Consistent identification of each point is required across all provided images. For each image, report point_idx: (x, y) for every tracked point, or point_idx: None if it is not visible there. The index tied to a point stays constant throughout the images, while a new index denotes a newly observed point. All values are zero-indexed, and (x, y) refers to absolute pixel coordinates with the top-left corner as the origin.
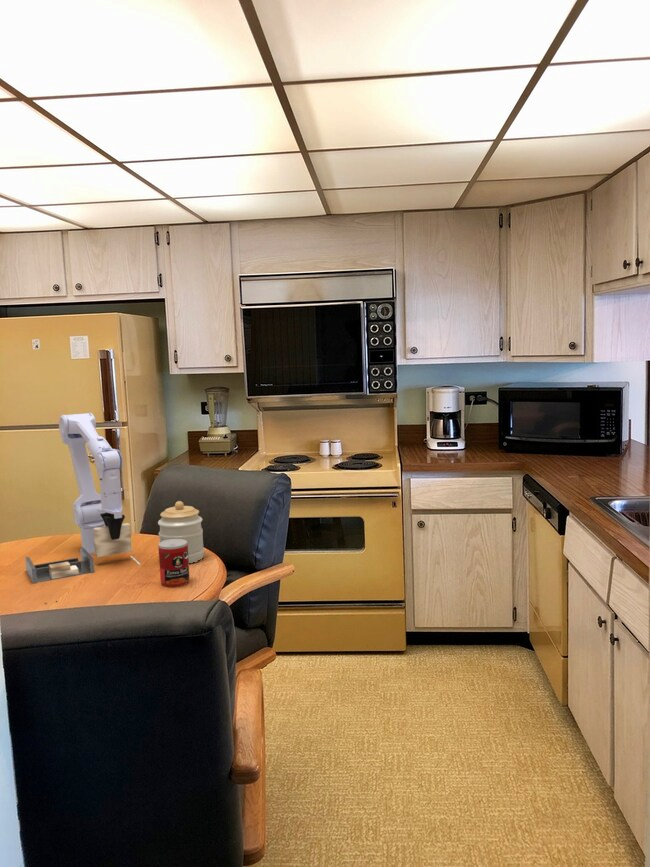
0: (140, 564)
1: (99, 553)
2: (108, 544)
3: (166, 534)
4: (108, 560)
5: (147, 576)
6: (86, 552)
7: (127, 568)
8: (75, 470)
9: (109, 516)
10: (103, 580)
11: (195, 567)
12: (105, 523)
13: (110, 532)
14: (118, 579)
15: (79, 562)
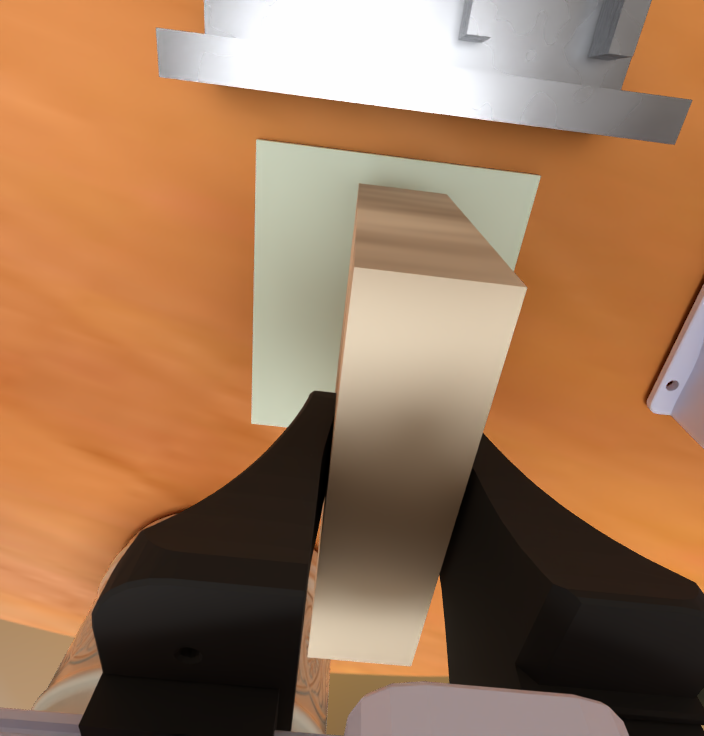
0: (251, 420)
1: (355, 216)
2: (342, 335)
3: (86, 697)
4: (521, 312)
5: (10, 368)
6: (452, 98)
7: (246, 340)
8: None
9: (210, 659)
10: (52, 101)
11: (58, 572)
12: (490, 501)
13: (285, 430)
14: (26, 205)
15: (468, 17)
